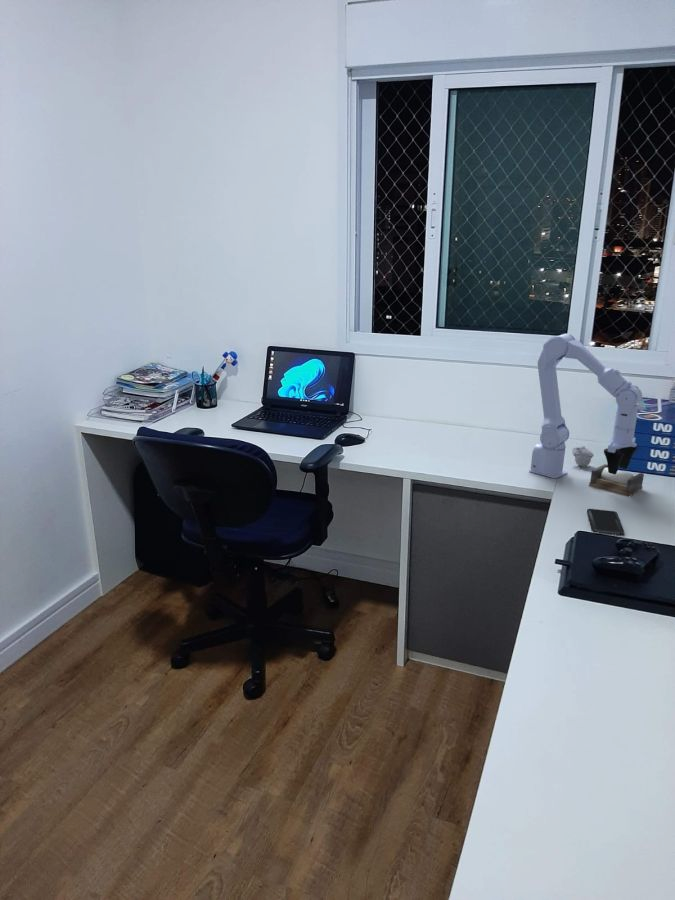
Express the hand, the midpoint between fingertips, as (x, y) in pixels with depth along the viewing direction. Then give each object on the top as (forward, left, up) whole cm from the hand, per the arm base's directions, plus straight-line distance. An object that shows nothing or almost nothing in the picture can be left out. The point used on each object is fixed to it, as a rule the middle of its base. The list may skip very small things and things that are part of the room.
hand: (617, 470), depth 201 cm
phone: (+10, -29, -6) cm, 31 cm away
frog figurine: (-17, +12, -6) cm, 21 cm away
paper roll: (0, 0, -2) cm, 2 cm away
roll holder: (0, 0, -5) cm, 5 cm away
